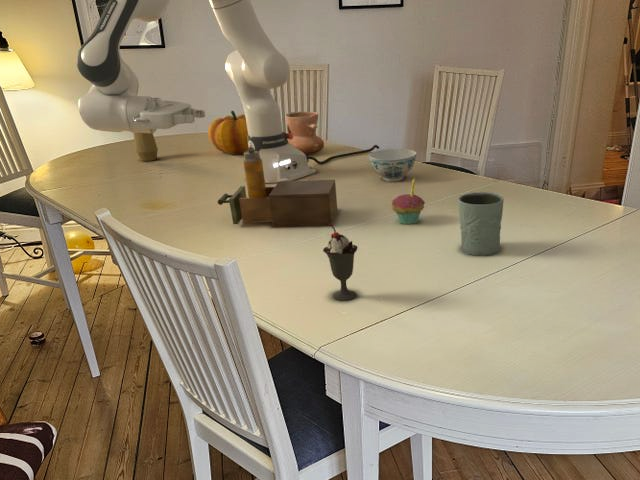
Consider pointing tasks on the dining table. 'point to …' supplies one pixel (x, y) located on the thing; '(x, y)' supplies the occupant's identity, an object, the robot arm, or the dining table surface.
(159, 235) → the dining table surface
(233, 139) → the decorative pumpkin
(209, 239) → the dining table surface
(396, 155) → the chinaware
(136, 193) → the dining table surface
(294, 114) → the ceramic jug
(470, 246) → the green embossed cup
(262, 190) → the pepper mill
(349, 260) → the sundae
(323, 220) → the cabinet
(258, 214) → the drawer
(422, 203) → the cupcake
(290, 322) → the dining table surface
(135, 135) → the squeeze bottle
